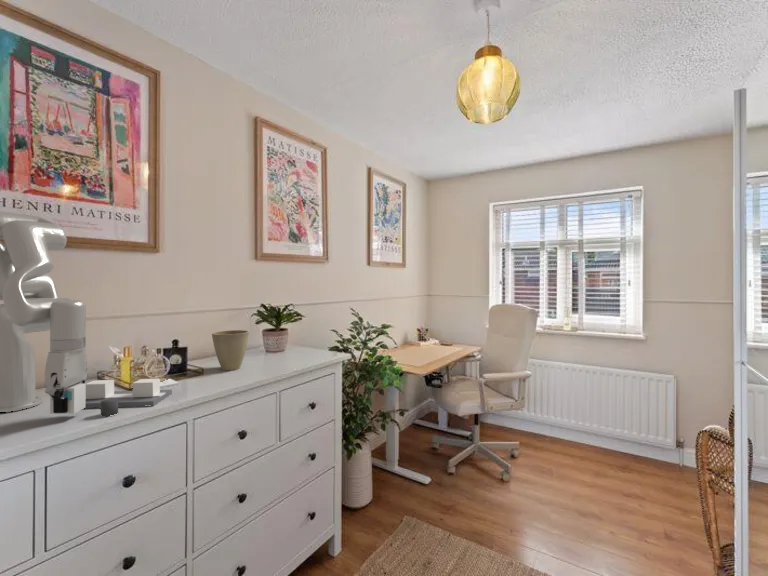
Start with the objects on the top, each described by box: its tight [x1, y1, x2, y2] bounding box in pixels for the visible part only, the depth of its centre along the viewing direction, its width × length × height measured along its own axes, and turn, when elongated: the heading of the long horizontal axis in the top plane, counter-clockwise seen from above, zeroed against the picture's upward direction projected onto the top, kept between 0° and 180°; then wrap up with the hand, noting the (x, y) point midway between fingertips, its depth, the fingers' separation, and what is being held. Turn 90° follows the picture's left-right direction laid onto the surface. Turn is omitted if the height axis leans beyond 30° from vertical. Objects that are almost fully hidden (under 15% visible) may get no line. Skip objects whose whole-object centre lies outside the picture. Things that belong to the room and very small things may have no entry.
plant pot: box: [211, 329, 250, 371], centre depth 160 cm, size 15×15×16 cm
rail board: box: [85, 378, 173, 409], centre depth 117 cm, size 24×12×6 cm, turn 96°
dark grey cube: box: [100, 399, 119, 417], centre depth 105 cm, size 4×4×4 cm
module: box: [49, 383, 87, 415], centre depth 103 cm, size 6×5×7 cm
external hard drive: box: [160, 378, 179, 389], centre depth 133 cm, size 2×8×12 cm
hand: (67, 408), depth 103 cm, fingers closed on module, 4 cm apart
